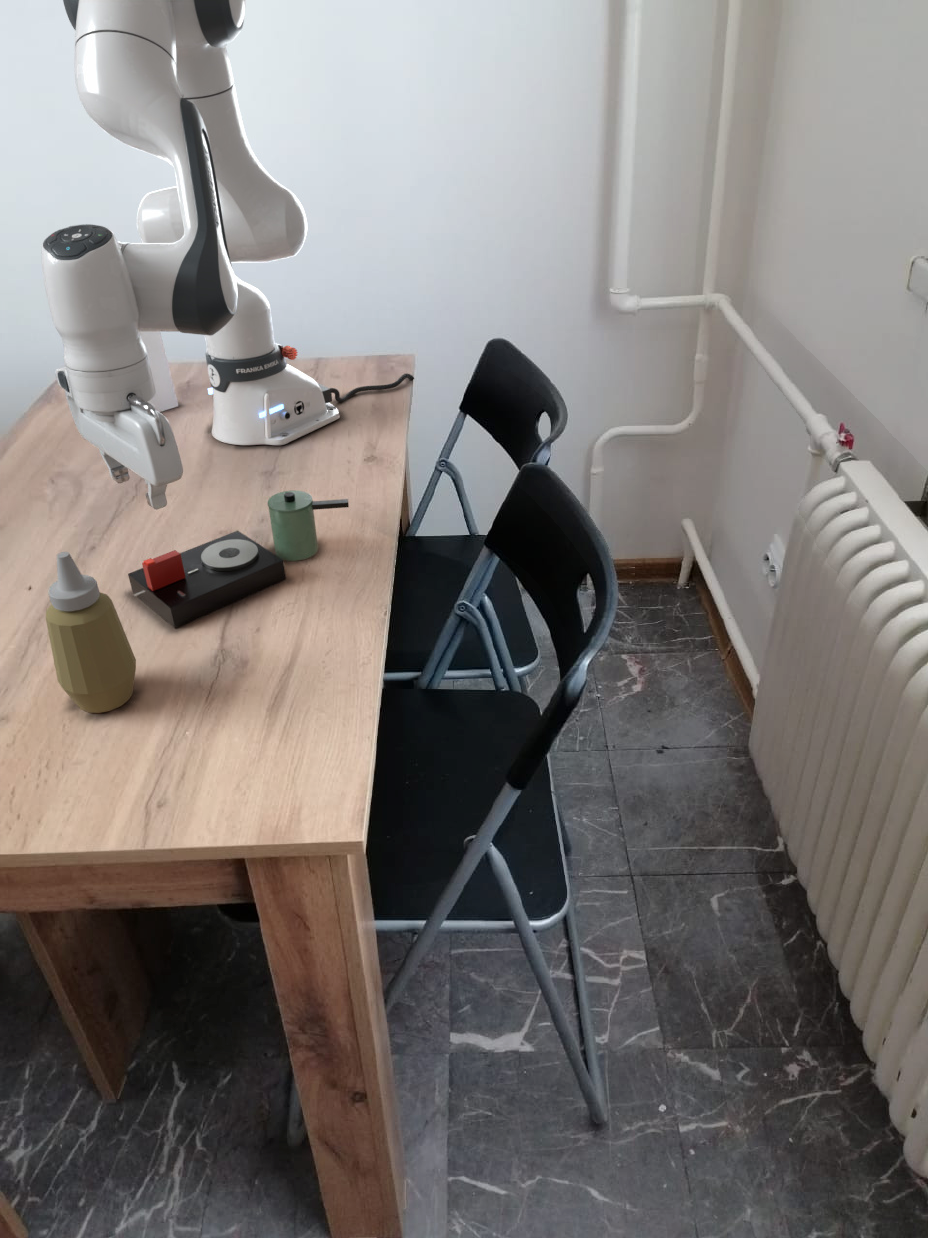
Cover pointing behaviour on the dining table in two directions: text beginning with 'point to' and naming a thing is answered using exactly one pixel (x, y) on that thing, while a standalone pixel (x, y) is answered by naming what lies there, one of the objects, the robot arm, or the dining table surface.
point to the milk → (159, 372)
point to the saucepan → (296, 523)
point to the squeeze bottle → (88, 641)
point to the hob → (208, 584)
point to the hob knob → (163, 570)
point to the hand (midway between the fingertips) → (139, 493)
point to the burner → (229, 555)
